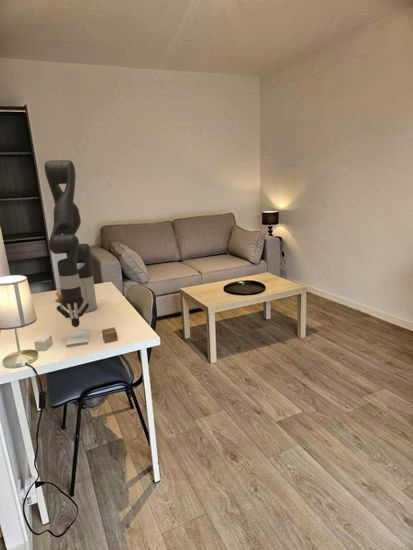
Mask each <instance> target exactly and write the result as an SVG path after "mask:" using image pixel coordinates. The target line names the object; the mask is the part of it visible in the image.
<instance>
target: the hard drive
mask: <svg viewBox="0 0 413 550" xmlns="http://www.w3.org/2000/svg"><path fill="white" fill-rule="evenodd" d="M89 338H90V330H88V329H87V330H80V331H72V332H68V334H67V340H66V343H65V347H66V348H71V347H78V346H85V345H89Z"/></svg>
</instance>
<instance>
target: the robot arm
mask: <svg viewBox="0 0 413 550" xmlns="http://www.w3.org/2000/svg"><path fill="white" fill-rule="evenodd" d="M44 172H45V173H44V174H45V177H46V181H47V183H48V187H49V189H50V192H51V194H52V198H53V203H54V208H53V226H52V231H51V234H50V237H49V240H48V241H49V242H48V247H49V250H50V252H52V254H54V255H55V254H56V255H57V254H59V255H60V254H65V255H66V258H62V259H59V260H58V261H57V272H58V283H59V289H60V290H61V297H62V299H61V301H60V304H58V305H57V306H56V311H58V312H59V313H60V314H62V316H63V317H65V319H70V322H71V326H72V327H73V328H78V327H79V326H80V323H81V322H80V318H81V317H83V315H84V314H85V313H90V312H93V311H96V310H97V309H98V305H97V297H96V289H95V281H94V273H93V266H92V254H91V253H92V252H91V247H90V245H89V244H88V243H80V241H79V240H80V239H79V238H78V236H77V235H76V233H77V231H78V230H79V228H80V226H81V224H82V223H81V222H82V219H81V215H80V210H79V208H78V206H77V204H76V203H75V202H74V197H75V190H76V189H75V188H76V178H77V177H76V169H75V165H74V162H73V161H72V160H70V159H69V160H68V159H60V160H58V159H54V160H46V161H45V163H44ZM60 185H65V187H64V190H62V188H61V186H60ZM78 264H83V266H81V267H80V268H78Z"/></svg>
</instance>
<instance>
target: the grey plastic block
mask: <svg viewBox="0 0 413 550" xmlns="http://www.w3.org/2000/svg"><path fill="white" fill-rule="evenodd" d="M33 342H34V343H33V344H34V348H35V352H45V351H46V352H47V351H48V349H49V348H50V347H51V346H52V345H53V344H54V342H53V335H52V334H42V335H39V337H38V338H37V339H36V340H34V341H33Z"/></svg>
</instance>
